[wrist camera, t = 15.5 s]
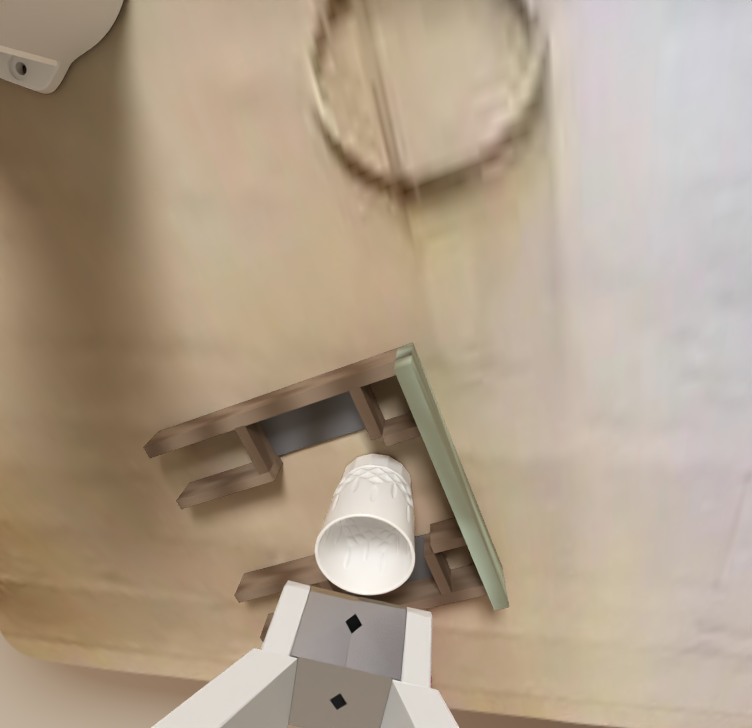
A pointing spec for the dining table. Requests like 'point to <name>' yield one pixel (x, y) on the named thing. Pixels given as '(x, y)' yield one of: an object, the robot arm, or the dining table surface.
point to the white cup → (369, 528)
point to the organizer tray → (337, 418)
